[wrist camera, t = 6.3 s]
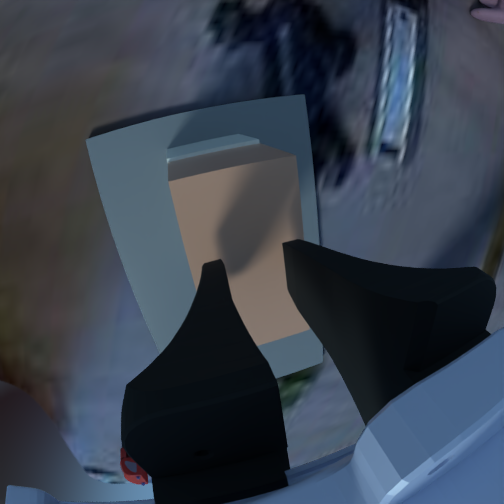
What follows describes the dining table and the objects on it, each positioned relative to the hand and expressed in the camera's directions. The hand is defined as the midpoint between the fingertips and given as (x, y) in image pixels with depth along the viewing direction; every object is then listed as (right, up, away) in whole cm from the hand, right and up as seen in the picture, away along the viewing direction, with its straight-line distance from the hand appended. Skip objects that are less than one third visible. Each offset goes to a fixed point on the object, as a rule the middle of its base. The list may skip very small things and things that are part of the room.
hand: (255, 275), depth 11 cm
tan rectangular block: (-1, +2, +5) cm, 5 cm away
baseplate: (-2, -1, +12) cm, 12 cm away
